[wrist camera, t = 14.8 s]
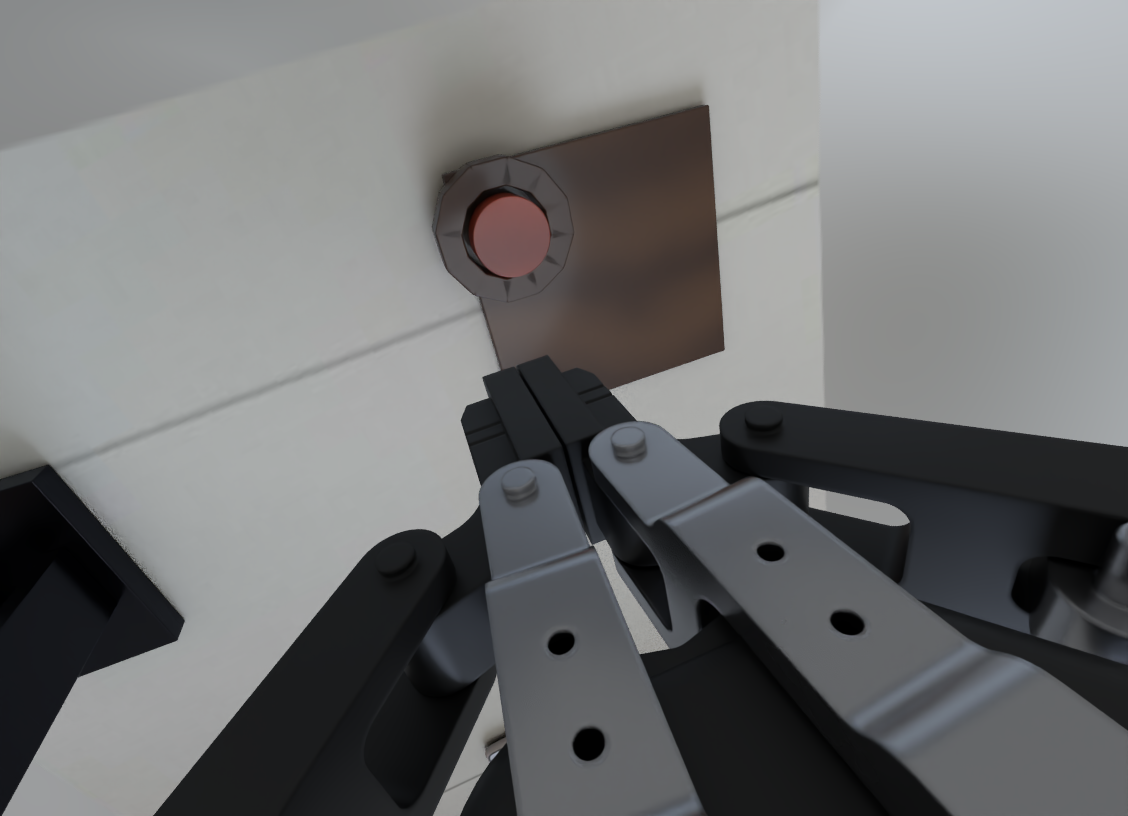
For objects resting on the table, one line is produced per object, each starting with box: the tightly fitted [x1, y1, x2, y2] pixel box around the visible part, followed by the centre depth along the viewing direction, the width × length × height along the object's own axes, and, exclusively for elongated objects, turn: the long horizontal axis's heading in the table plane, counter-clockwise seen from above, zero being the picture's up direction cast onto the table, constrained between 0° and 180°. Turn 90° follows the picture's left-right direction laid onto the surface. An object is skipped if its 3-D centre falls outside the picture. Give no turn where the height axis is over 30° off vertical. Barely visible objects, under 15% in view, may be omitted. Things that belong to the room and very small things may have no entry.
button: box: [468, 193, 550, 277], centre depth 25 cm, size 4×4×2 cm
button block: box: [432, 105, 725, 390], centre depth 29 cm, size 14×15×2 cm
